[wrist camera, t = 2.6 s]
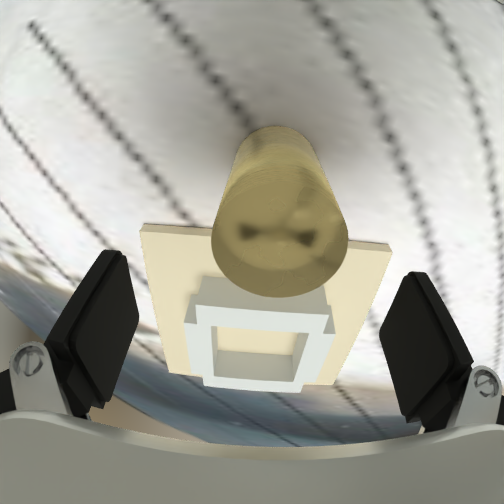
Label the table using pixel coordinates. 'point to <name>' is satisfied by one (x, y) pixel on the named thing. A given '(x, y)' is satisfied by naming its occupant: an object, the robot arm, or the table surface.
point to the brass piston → (278, 218)
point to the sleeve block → (254, 315)
